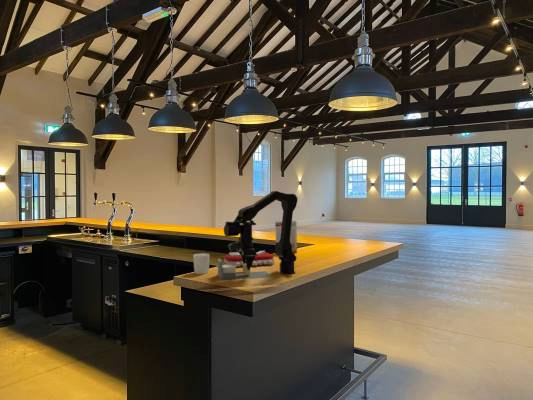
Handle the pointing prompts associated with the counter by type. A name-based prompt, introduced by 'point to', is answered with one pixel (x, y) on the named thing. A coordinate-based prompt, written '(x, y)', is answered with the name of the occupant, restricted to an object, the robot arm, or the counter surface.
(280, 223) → the cracker box
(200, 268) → the white cup
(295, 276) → the counter surface
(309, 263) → the counter surface
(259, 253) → the word lettering
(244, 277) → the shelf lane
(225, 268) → the rod-linked cube pair
